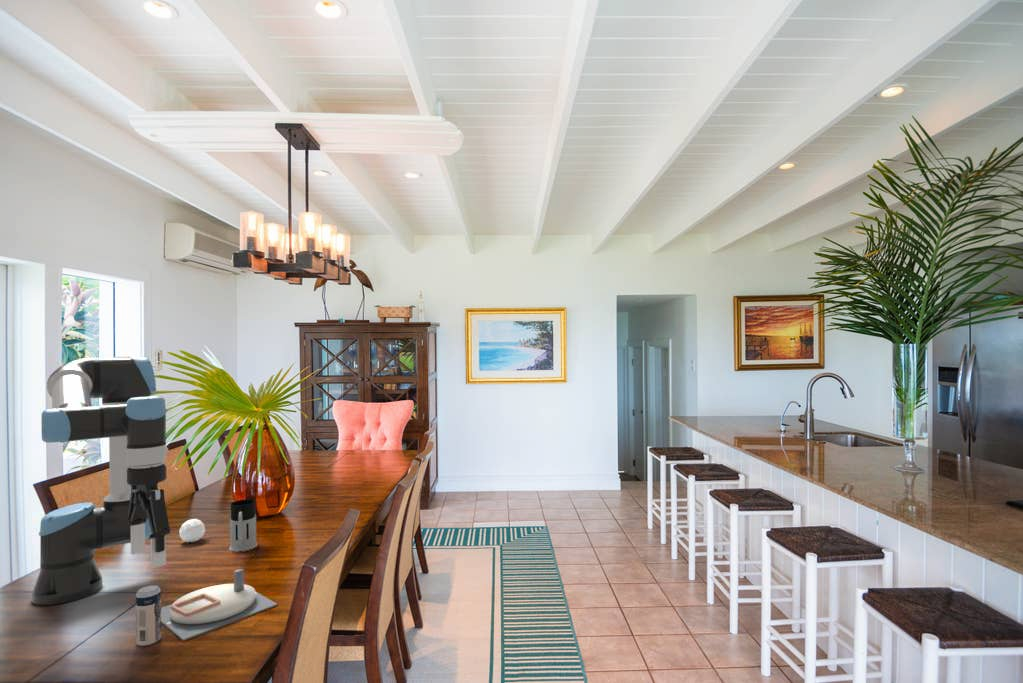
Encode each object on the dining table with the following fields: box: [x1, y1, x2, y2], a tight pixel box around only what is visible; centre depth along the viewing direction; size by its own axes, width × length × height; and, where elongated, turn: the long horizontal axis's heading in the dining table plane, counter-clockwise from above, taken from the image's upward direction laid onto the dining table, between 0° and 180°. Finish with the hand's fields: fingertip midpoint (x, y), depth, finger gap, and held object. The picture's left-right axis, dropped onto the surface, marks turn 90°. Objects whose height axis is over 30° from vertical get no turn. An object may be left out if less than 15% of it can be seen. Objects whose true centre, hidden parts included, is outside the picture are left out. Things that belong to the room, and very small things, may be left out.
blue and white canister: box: [135, 584, 162, 647], centre depth 125 cm, size 5×5×12 cm
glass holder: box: [228, 499, 258, 553], centre depth 183 cm, size 9×14×15 cm, turn 20°
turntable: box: [170, 568, 256, 624], centre depth 140 cm, size 19×19×7 cm
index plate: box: [161, 591, 278, 642], centre depth 140 cm, size 22×22×1 cm
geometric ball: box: [178, 518, 206, 543], centre depth 193 cm, size 8×8×8 cm
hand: (147, 559), depth 125 cm, fingers open, 13 cm apart
